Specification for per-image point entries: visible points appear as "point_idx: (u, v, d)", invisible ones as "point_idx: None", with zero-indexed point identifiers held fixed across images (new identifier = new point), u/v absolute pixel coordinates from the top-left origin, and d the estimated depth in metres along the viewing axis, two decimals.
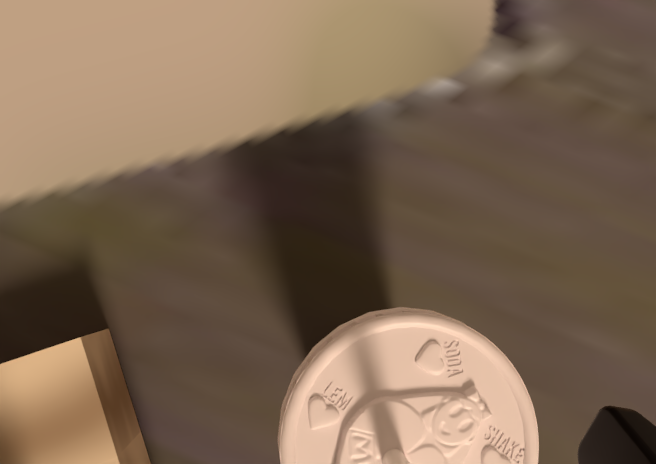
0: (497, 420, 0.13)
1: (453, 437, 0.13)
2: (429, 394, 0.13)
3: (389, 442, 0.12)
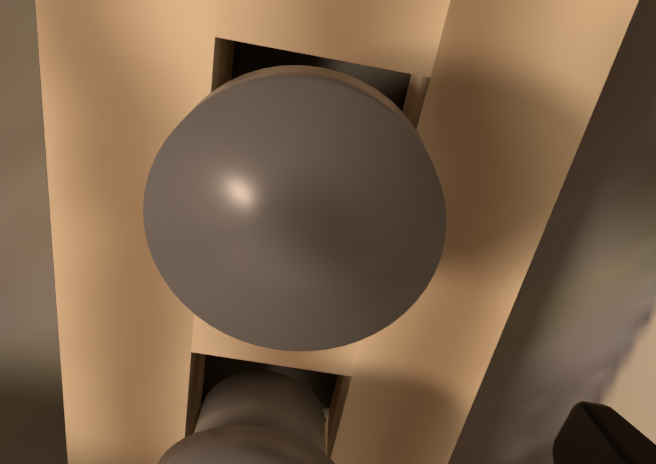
0: None
1: None
2: None
3: None
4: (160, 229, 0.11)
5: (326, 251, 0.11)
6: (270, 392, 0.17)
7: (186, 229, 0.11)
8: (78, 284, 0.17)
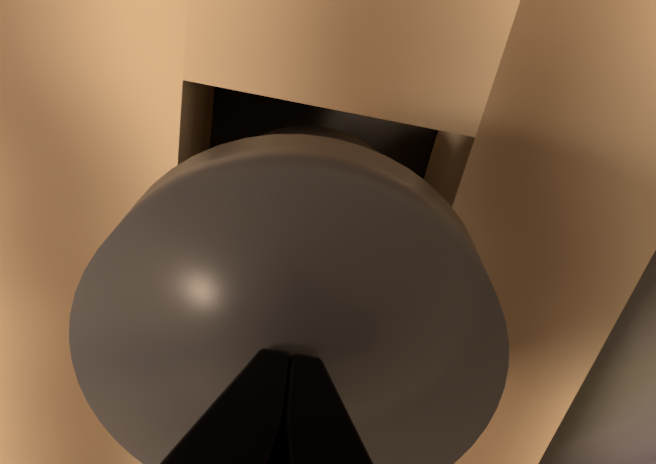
0: None
1: None
2: None
3: None
4: (96, 366, 0.07)
5: None
6: None
7: (133, 366, 0.07)
8: (14, 380, 0.13)
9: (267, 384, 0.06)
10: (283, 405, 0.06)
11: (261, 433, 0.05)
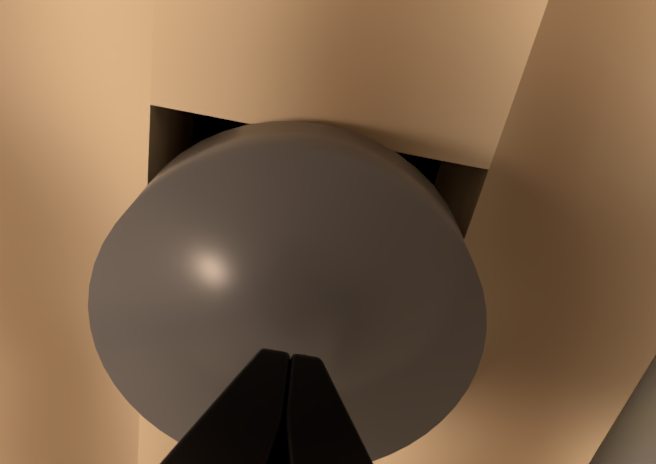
0: None
1: None
2: None
3: None
4: (112, 332, 0.08)
5: (328, 361, 0.08)
6: None
7: (146, 332, 0.08)
8: None
9: (267, 384, 0.06)
10: (283, 405, 0.06)
11: (261, 433, 0.05)
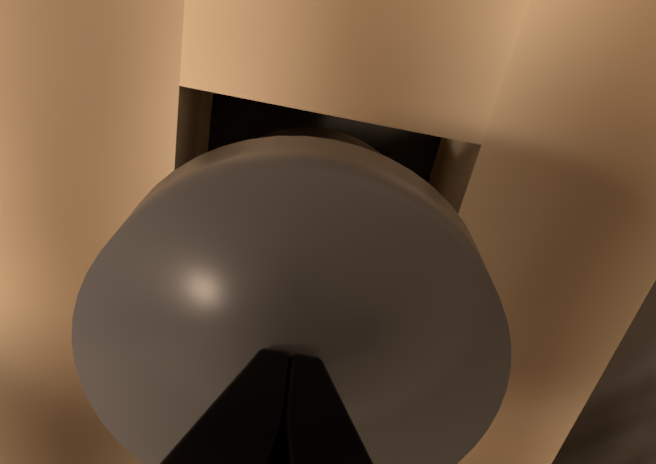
0: None
1: None
2: None
3: None
4: None
5: None
6: None
7: None
8: None
9: (267, 384, 0.06)
10: (283, 405, 0.06)
11: (261, 434, 0.05)
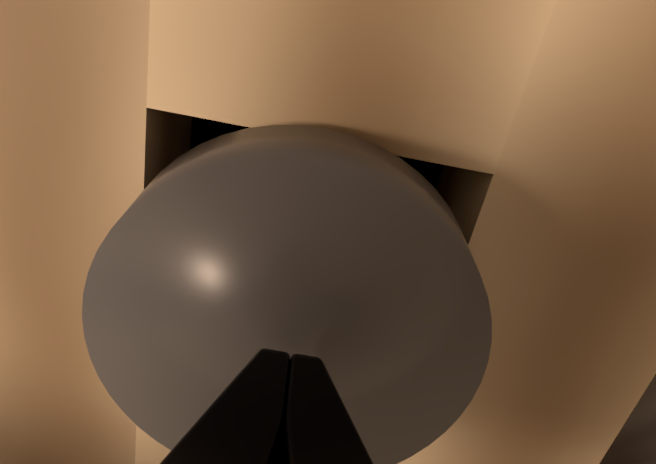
0: None
1: None
2: None
3: None
4: None
5: None
6: None
7: None
8: None
9: (267, 384, 0.06)
10: (283, 405, 0.06)
11: (261, 434, 0.05)
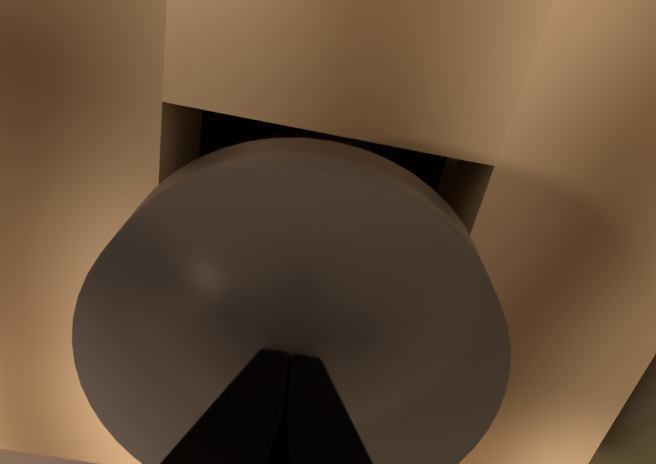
0: None
1: None
2: None
3: None
4: None
5: None
6: None
7: None
8: None
9: (267, 384, 0.06)
10: (283, 405, 0.06)
11: (261, 433, 0.05)
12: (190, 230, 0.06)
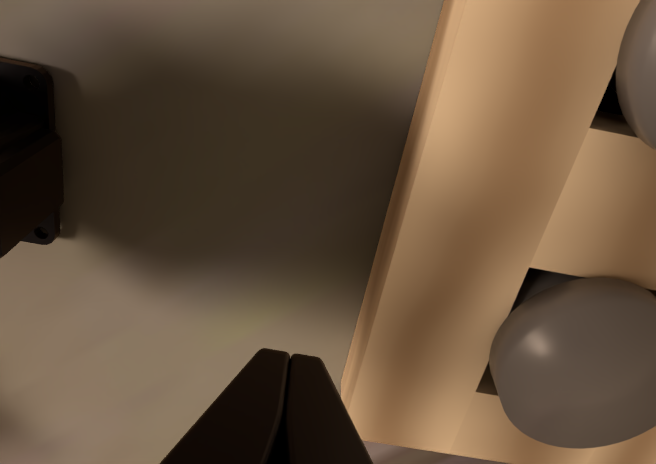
0: None
1: None
2: None
3: None
4: None
5: None
6: None
7: None
8: None
9: (267, 384, 0.06)
10: (283, 405, 0.06)
11: (260, 433, 0.05)
12: (576, 322, 0.16)
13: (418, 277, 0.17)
